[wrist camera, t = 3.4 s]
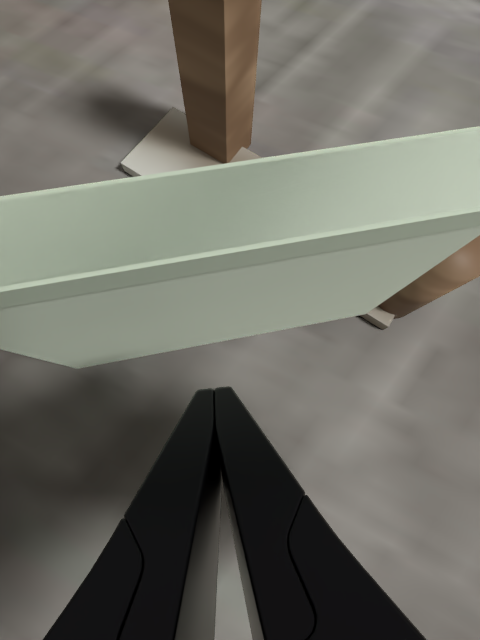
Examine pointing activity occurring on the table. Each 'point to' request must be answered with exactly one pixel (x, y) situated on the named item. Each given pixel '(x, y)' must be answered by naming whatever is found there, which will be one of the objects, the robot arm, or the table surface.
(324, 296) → the pale green flat panel
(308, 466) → the table surface
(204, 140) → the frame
